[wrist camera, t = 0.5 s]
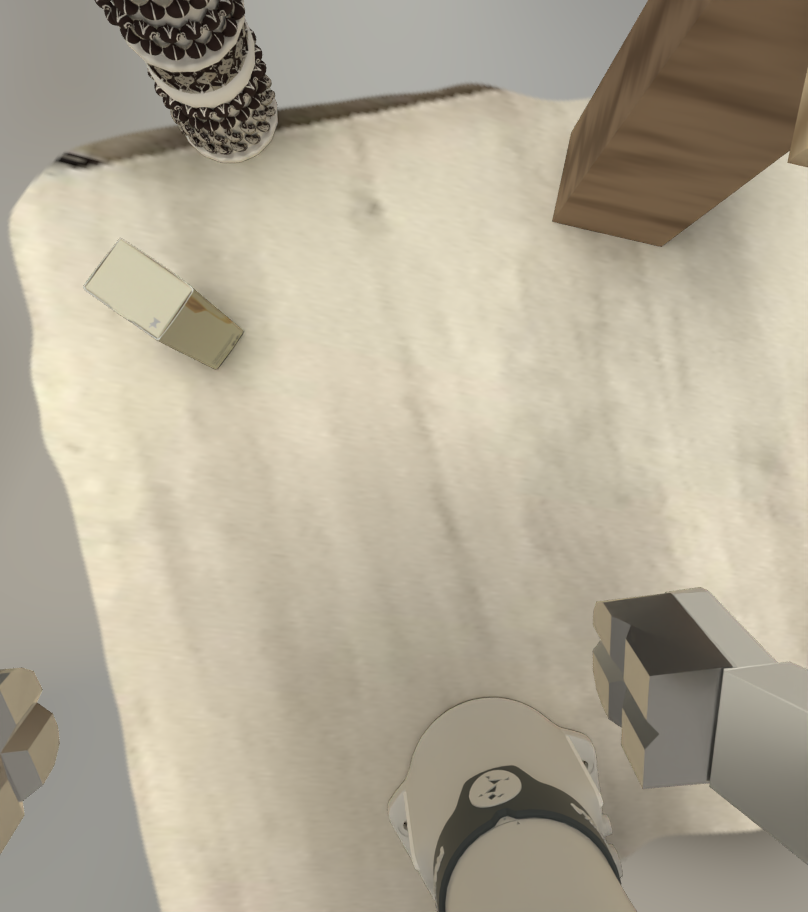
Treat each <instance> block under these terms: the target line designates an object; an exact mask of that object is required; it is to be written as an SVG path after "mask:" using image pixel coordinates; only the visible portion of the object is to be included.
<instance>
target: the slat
mask: <svg viewBox="0 0 808 912" xmlns="http://www.w3.org/2000/svg"><path fill="white" fill-rule="evenodd" d="M787 163H792V164H796V165H800V166H804V167H808V69H807V73H806V78H805V83H804V87H803V92H802V97H801V101H800V106H799V111H798V116H797V120H796V125H795V130H794V134H793V139H792V144H791V148H790V153H789V158H788V162H787Z"/></svg>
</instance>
